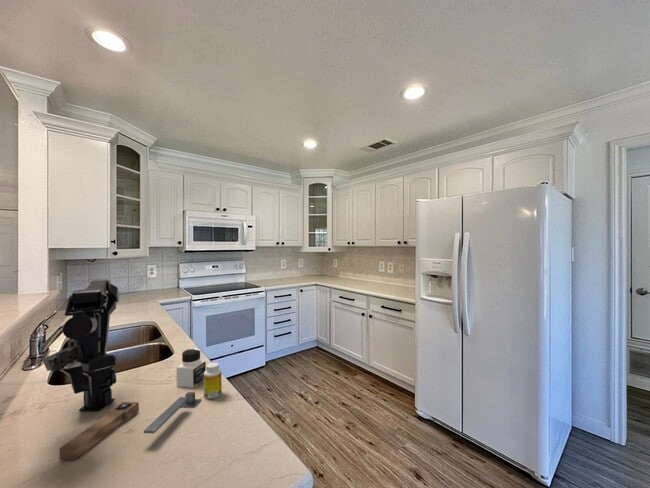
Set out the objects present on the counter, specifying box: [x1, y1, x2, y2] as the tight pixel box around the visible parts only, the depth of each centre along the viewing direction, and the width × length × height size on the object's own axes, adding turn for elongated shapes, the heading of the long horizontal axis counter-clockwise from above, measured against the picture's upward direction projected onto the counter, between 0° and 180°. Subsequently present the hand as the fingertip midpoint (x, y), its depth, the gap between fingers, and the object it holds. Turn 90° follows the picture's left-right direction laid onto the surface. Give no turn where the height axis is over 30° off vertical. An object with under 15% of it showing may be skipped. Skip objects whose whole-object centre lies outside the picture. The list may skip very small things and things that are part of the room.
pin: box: [118, 401, 129, 410], centre depth 83 cm, size 3×3×4 cm
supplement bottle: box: [203, 362, 223, 400], centre depth 95 cm, size 6×6×10 cm
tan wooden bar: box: [58, 401, 140, 461], centre depth 76 cm, size 20×5×3 cm, turn 176°
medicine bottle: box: [176, 347, 207, 389], centre depth 103 cm, size 7×7×12 cm
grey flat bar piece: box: [143, 391, 202, 434], centre depth 81 cm, size 5×21×4 cm, turn 176°
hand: (85, 394), depth 75 cm, fingers open, 9 cm apart
